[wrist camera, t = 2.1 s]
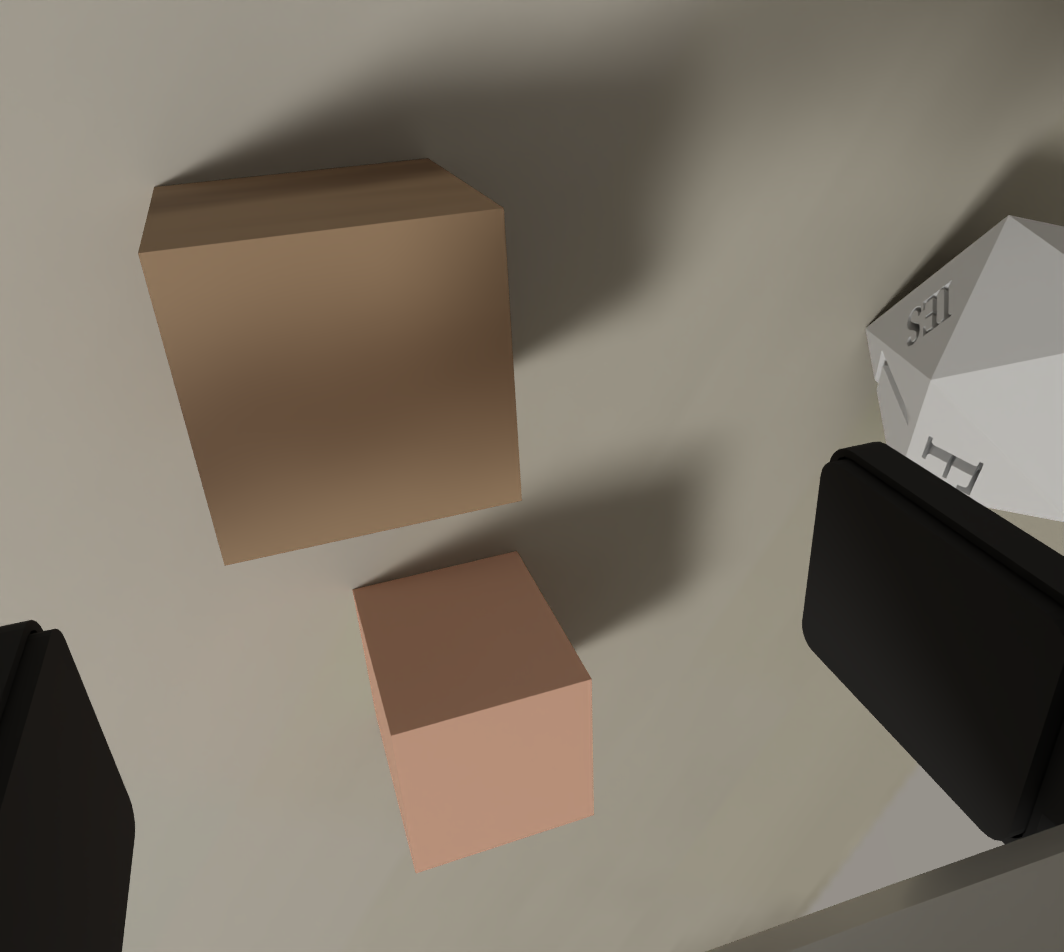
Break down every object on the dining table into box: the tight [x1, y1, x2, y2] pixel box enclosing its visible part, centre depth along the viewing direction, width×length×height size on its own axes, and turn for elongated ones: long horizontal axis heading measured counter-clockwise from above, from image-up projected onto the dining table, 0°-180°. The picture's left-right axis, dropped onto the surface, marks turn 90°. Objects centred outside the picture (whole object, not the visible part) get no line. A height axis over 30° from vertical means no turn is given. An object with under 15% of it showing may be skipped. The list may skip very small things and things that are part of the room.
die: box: [865, 215, 1064, 522], centre depth 24 cm, size 8×9×10 cm
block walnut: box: [138, 158, 522, 565], centre depth 18 cm, size 6×6×6 cm
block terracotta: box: [353, 551, 594, 873], centre depth 24 cm, size 5×5×6 cm
